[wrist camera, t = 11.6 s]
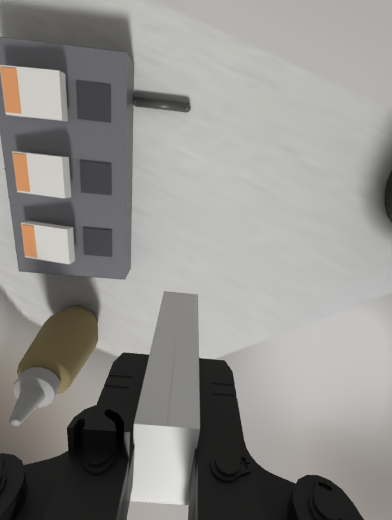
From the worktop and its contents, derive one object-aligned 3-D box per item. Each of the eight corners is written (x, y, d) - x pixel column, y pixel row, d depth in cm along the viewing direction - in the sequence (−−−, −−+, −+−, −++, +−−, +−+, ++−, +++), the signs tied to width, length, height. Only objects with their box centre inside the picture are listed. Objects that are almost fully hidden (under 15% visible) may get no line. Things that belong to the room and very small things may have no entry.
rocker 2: (73, 227, 34) (66, 229, 33) (75, 261, 36) (68, 264, 35) (27, 220, 35) (20, 222, 34) (31, 254, 37) (24, 257, 35)
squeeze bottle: (45, 304, 44) (-43, 398, 27) (95, 294, 44) (37, 384, 27) (64, 346, 47) (-5, 454, 30) (111, 337, 47) (68, 442, 30)
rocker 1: (65, 73, 29) (58, 70, 28) (67, 121, 30) (61, 120, 29) (7, 68, 29) (-2, 64, 28) (13, 115, 31) (5, 114, 29)
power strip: (193, 70, 34) (194, 58, 29) (177, 271, 43) (176, 285, 38) (10, 48, 32) (-17, 32, 28) (34, 260, 42) (16, 273, 37)
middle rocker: (68, 157, 31) (61, 157, 30) (71, 197, 33) (64, 198, 32) (20, 151, 32) (11, 151, 31) (24, 190, 34) (16, 192, 33)
